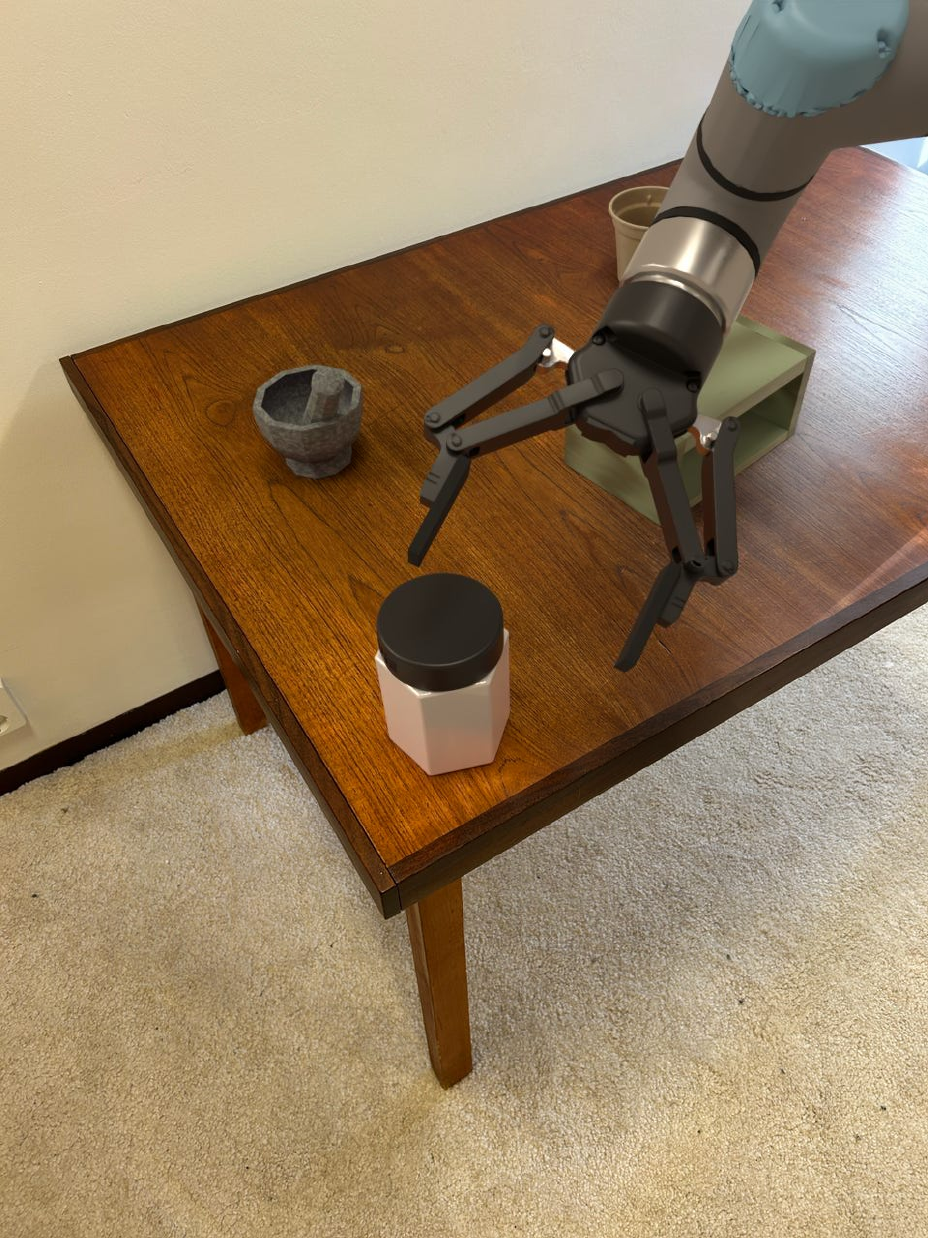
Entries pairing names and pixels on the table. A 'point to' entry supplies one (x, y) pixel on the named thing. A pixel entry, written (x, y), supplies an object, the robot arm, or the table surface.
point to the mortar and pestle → (311, 417)
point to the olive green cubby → (715, 415)
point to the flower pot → (633, 219)
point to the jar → (444, 671)
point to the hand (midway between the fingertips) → (517, 613)
